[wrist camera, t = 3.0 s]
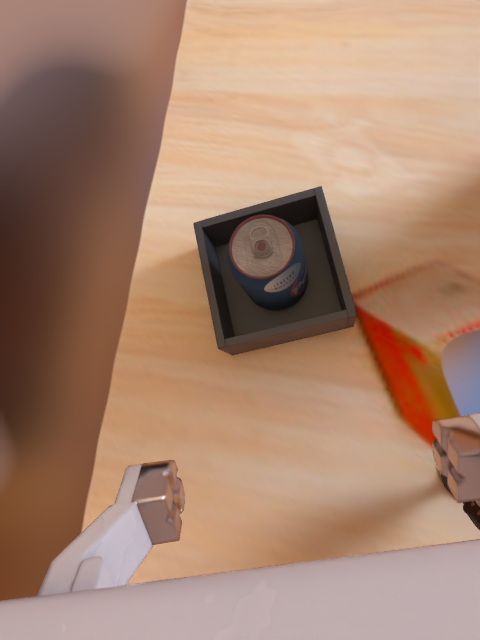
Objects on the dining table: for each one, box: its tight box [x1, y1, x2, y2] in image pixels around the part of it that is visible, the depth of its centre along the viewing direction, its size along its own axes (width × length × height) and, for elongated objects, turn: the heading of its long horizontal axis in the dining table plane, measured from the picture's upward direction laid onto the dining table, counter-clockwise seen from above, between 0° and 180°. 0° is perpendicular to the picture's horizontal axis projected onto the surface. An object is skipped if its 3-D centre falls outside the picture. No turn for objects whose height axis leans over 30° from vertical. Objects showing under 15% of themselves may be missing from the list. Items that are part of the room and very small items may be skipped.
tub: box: [194, 186, 357, 355], centre depth 47 cm, size 14×14×6 cm
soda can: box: [227, 215, 308, 310], centre depth 44 cm, size 7×7×12 cm
